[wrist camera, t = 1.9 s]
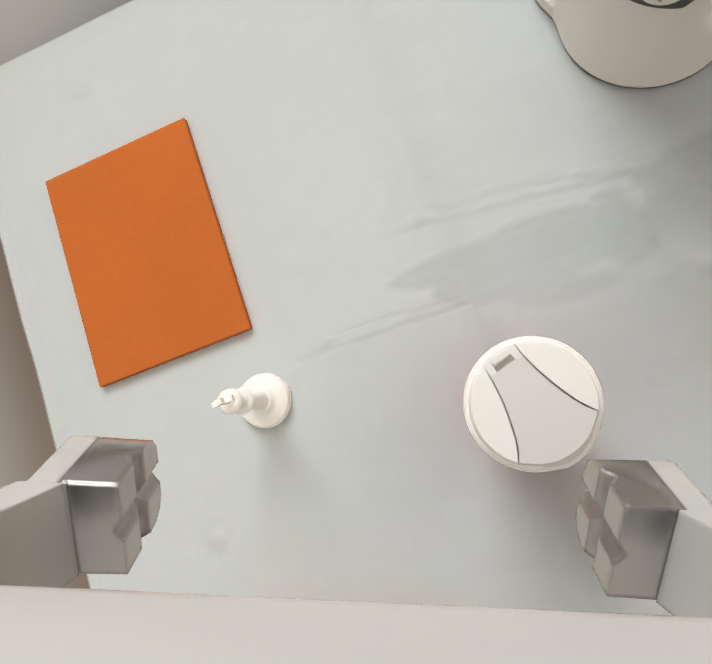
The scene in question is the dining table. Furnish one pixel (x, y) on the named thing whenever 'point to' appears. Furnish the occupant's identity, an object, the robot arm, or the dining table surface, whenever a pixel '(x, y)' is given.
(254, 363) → the dining table surface
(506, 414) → the coffee cup
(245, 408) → the chess piece
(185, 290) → the cloth mat
